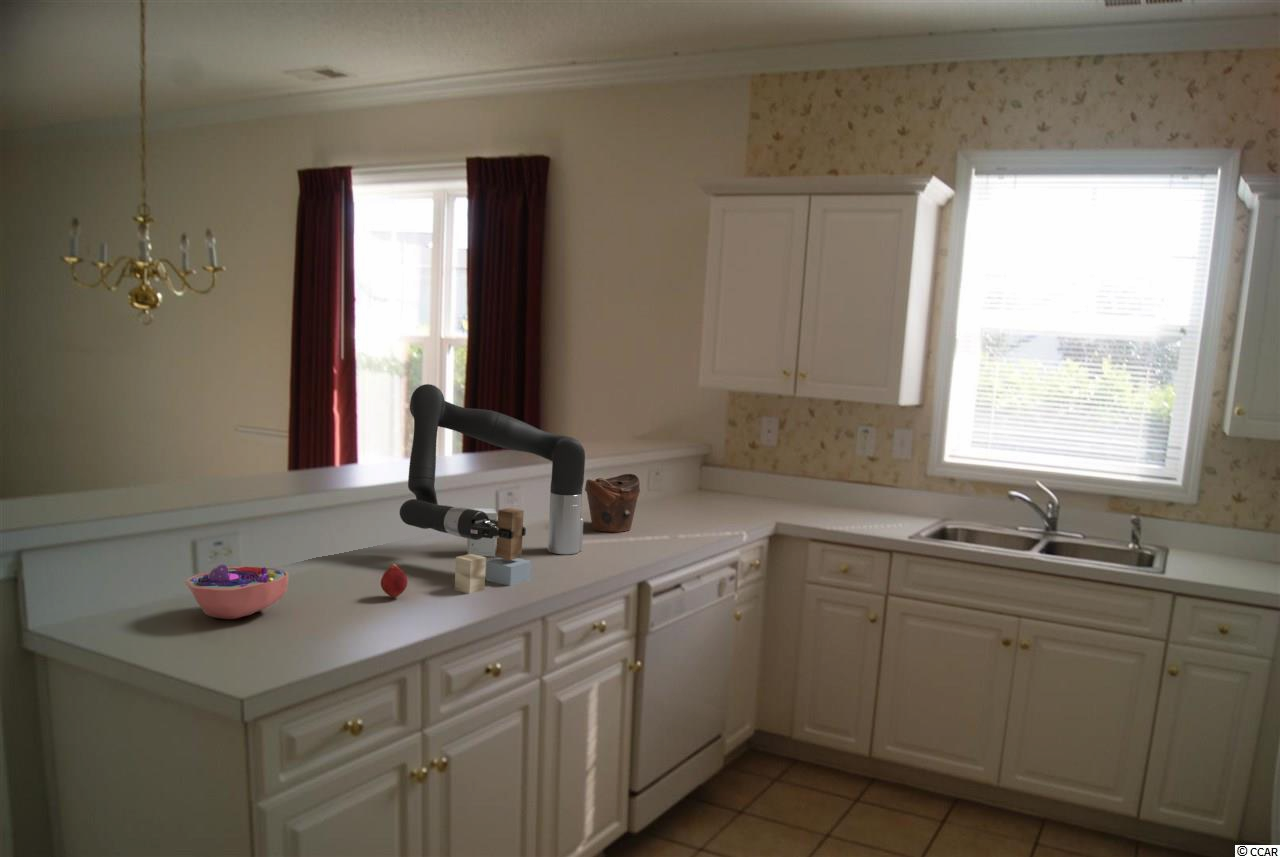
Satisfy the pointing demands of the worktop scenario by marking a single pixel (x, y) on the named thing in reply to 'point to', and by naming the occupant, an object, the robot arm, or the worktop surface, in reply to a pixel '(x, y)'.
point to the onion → (394, 581)
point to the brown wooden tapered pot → (613, 502)
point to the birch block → (470, 573)
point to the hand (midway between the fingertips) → (518, 533)
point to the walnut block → (513, 547)
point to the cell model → (237, 590)
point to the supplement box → (484, 544)
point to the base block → (508, 571)
